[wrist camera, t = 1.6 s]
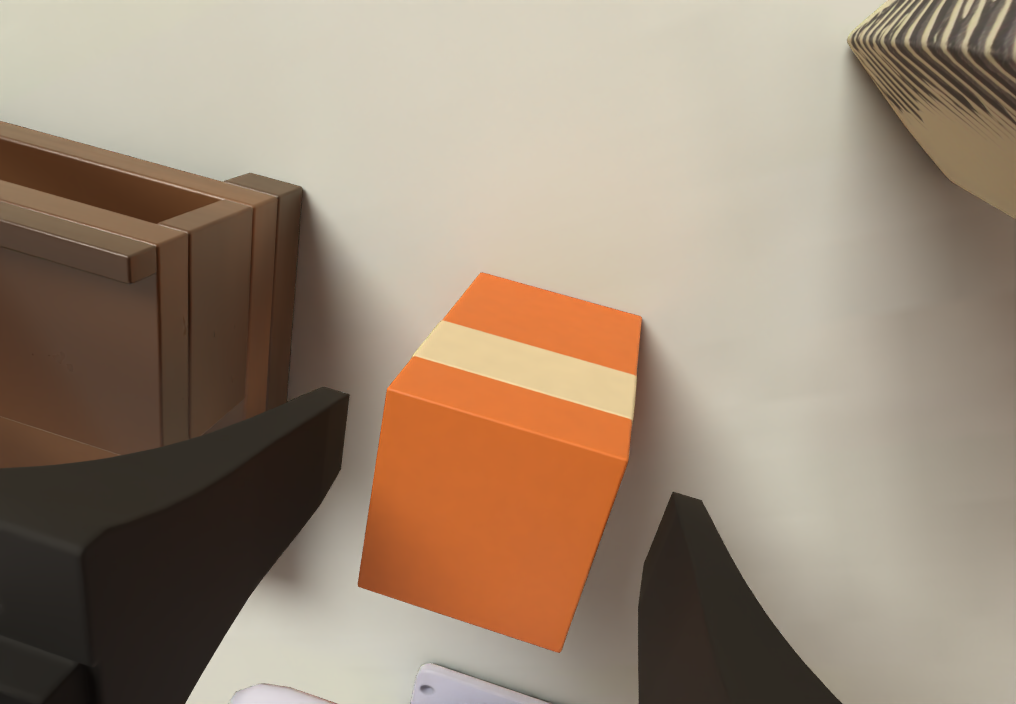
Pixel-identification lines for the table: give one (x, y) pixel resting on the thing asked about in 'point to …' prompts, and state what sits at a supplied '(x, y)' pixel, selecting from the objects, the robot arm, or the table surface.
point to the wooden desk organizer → (135, 300)
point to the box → (951, 85)
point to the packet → (503, 459)
